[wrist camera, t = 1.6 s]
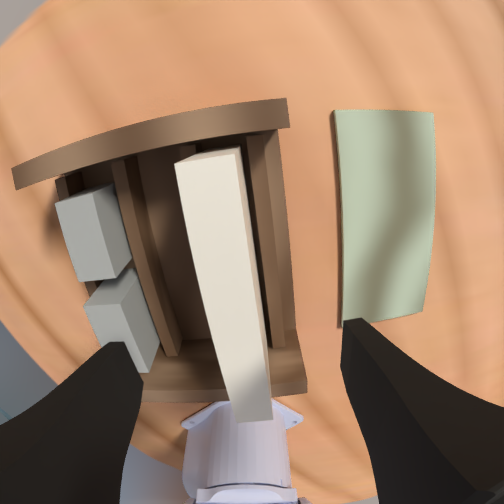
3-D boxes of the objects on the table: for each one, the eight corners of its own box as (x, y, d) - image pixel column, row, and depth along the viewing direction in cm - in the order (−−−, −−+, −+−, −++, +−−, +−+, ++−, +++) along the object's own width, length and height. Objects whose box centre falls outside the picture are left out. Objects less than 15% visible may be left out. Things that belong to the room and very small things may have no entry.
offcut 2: (134, 330, 20) (114, 372, 16) (112, 270, 19) (82, 306, 14) (164, 329, 20) (149, 372, 16) (144, 266, 18) (120, 303, 14)
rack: (128, 349, 22) (105, 401, 17) (66, 151, 16) (10, 164, 11) (419, 313, 21) (453, 358, 16) (429, 105, 15) (486, 104, 10)
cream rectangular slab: (239, 328, 20) (236, 422, 13) (208, 148, 16) (174, 163, 8) (265, 325, 20) (273, 419, 13) (240, 143, 16) (234, 153, 8)
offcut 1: (106, 253, 18) (79, 282, 14) (89, 187, 16) (54, 203, 13) (139, 248, 18) (116, 278, 14) (123, 179, 16) (92, 193, 13)
